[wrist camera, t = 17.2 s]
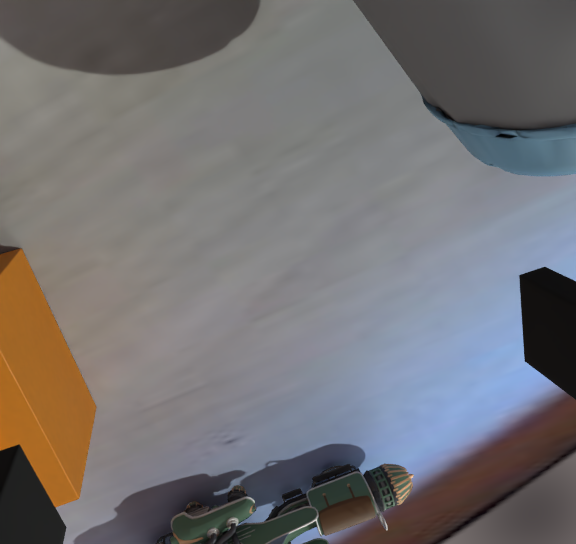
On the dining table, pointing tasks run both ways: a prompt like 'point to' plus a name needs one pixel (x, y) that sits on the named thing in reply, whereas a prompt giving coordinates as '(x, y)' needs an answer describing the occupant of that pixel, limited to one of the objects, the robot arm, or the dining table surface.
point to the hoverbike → (297, 509)
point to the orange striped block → (40, 385)
